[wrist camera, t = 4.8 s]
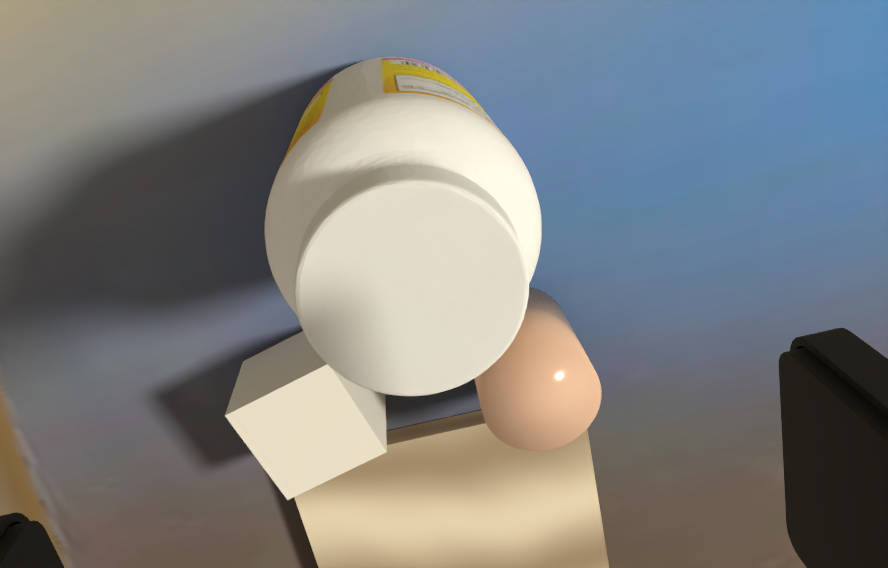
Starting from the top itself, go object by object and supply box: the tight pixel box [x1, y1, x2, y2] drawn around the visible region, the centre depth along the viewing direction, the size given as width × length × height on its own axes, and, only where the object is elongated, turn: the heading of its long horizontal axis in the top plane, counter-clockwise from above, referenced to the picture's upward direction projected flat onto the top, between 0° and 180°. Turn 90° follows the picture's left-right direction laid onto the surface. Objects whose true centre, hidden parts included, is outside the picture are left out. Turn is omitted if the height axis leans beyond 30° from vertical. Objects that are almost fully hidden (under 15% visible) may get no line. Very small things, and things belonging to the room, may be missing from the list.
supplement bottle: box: [265, 57, 541, 396], centre depth 21 cm, size 7×7×13 cm
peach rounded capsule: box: [474, 287, 601, 451], centre depth 28 cm, size 4×4×5 cm
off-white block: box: [225, 331, 387, 500], centre depth 28 cm, size 4×4×4 cm
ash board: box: [294, 410, 609, 568], centre depth 34 cm, size 14×12×1 cm
